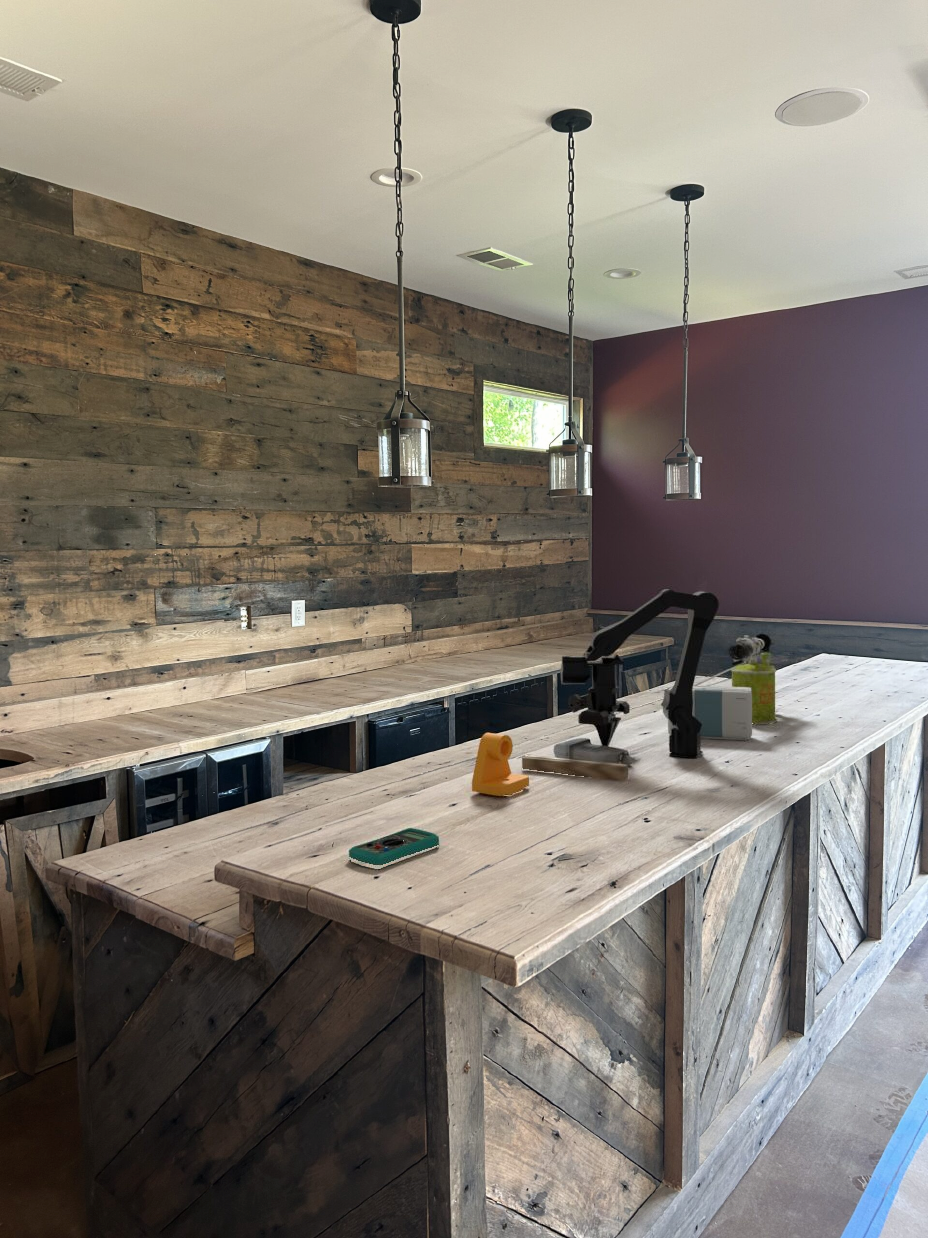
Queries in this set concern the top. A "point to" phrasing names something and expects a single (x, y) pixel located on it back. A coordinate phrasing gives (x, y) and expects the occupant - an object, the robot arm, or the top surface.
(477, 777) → the bracket
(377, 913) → the top surface
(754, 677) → the blowtorch
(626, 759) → the handheld device
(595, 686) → the robot arm
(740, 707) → the stereo radio cassette player
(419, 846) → the digital multimeter
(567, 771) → the beam
